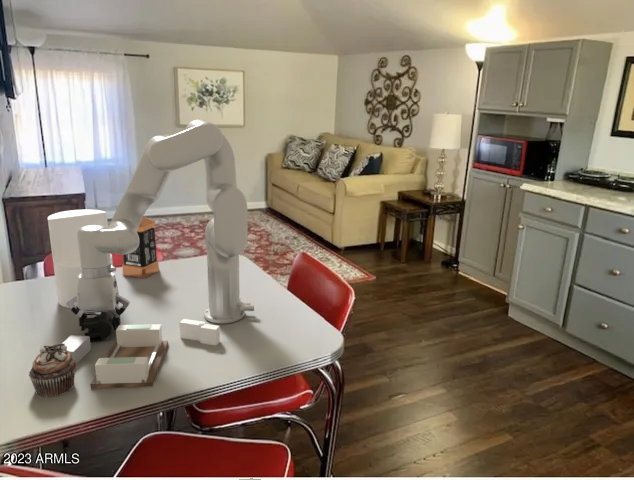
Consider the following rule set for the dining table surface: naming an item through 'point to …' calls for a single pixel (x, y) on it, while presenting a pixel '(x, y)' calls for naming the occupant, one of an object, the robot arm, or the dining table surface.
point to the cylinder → (70, 248)
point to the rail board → (136, 353)
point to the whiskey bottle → (142, 253)
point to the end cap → (98, 325)
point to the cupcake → (53, 371)
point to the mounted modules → (129, 366)
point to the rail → (149, 361)
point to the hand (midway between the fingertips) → (100, 328)
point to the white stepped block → (200, 331)
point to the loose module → (78, 346)
